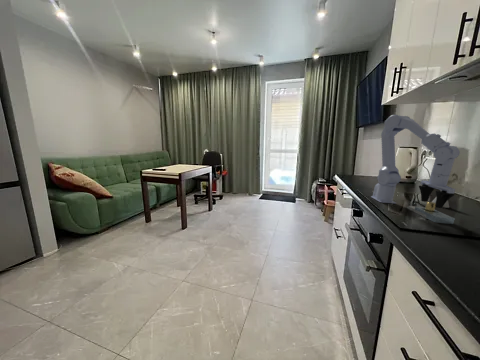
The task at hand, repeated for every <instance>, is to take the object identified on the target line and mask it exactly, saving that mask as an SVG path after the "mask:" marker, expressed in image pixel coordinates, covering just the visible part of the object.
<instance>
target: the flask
mask: <svg viewBox="0 0 480 360" xmlns="http://www.w3.org/2000/svg"><path fill="white" fill-rule="evenodd" d="M436 199H437V196H435V198H434V199H432V201H431V202H433V203H436ZM442 208H448V209H449V208H450V205H449V200H447V202H446V203H445V204H444V205H443V207H442Z"/></svg>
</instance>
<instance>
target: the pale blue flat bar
mask: <svg viewBox="0 0 480 360" xmlns="http://www.w3.org/2000/svg"><path fill="white" fill-rule="evenodd" d="M406 209H407V210H409V211H411V212H414V213H416V214H418V215H419V216H422V217H423V218H425V219H428V220H430V221H431V222H434V223H436V224H437V223H440V224H448V225H449V224H451V225H454V222H455V219H456V218H455V217H453V216H450V215H448V214H446V213H443V212H441V211H439V210H437V209H435V210H434V212H428V211H426V210H425V207H423V206H416V205H415V206H413V205H407V208H406Z"/></svg>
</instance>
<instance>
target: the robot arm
mask: <svg viewBox="0 0 480 360" xmlns="http://www.w3.org/2000/svg"><path fill="white" fill-rule="evenodd" d="M406 129H407V130H409V131H410V132H411V133H413V134H414V135H415V136H416V137H418V138H419V139H420V140H421V144H422V145H423V146H424V147H425V148H427V149H428V150H429V151H430V152H431V153H433V157H434V158H435V159H434V162H433V165H432V169H431V173H430V176H429V180H424V179H423V180H421V181H420V185H418V188H419V190H420V191H419V192H420V201H421V202H424V203H427V202H429V199H430V197H431V194H432V193H433V191H434V190H435V189H436V191H435V194H436V196H435V197H437V199H436V204H435V208H438V209H439V208H440V209H442V208H444V207H443V205H444V204H445V203H446V202H447V200H448V201H449V200H450V199H452V197H454V196H455V191H456V188H453V187H450V186H448V182H449V180H450V175H451V172H452V169H453V166H454V163H455V159H457V158H458V157H459V156H460V154H461V153H460V152H461V151H460V149H459V148H458V147H457V146H456V145H455V146H454V145H451V142H449V141H445V140H444V139H443V138H442V135H441V134H436V133H429V131H427V130H426V129H425V128H424V127H422V126H421V125H420V124H419V123H418V122H416V121H415V119H413V118H411V117H410V116H408V115H400V114H391V115H390V116H388V118H386V120H385V119H384V126H383V128H382V131H381V135H380V136H381V161H382V163H381V164H382V166H381V168H380V169H379V170H378V175H377V181H378V182H377V183H376V184H375V185H374V188H373V193H372V195H371V196H370V198H372V199H374V200H375V201H378V202H379V203H384V204H395V205H396V204H397V202H395V201H393V199H394V195H395V191H396V189H397V188H396V187H397V184H399V183H400V182H401V180H402V176H401V174H400V171H399V169H398V167H397V165H396V150H395V149H396V145H395V142H396V141H395V136H396V135H397V134H399V132H401V131H403V130H406Z"/></svg>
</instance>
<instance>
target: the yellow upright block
mask: <svg viewBox="0 0 480 360" xmlns="http://www.w3.org/2000/svg"><path fill="white" fill-rule="evenodd" d="M435 204H436V203H433V202H432V201H427V202H426V204H425V207H424V208H425V210H426V211H428V212H434V210H436V207H435Z"/></svg>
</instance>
